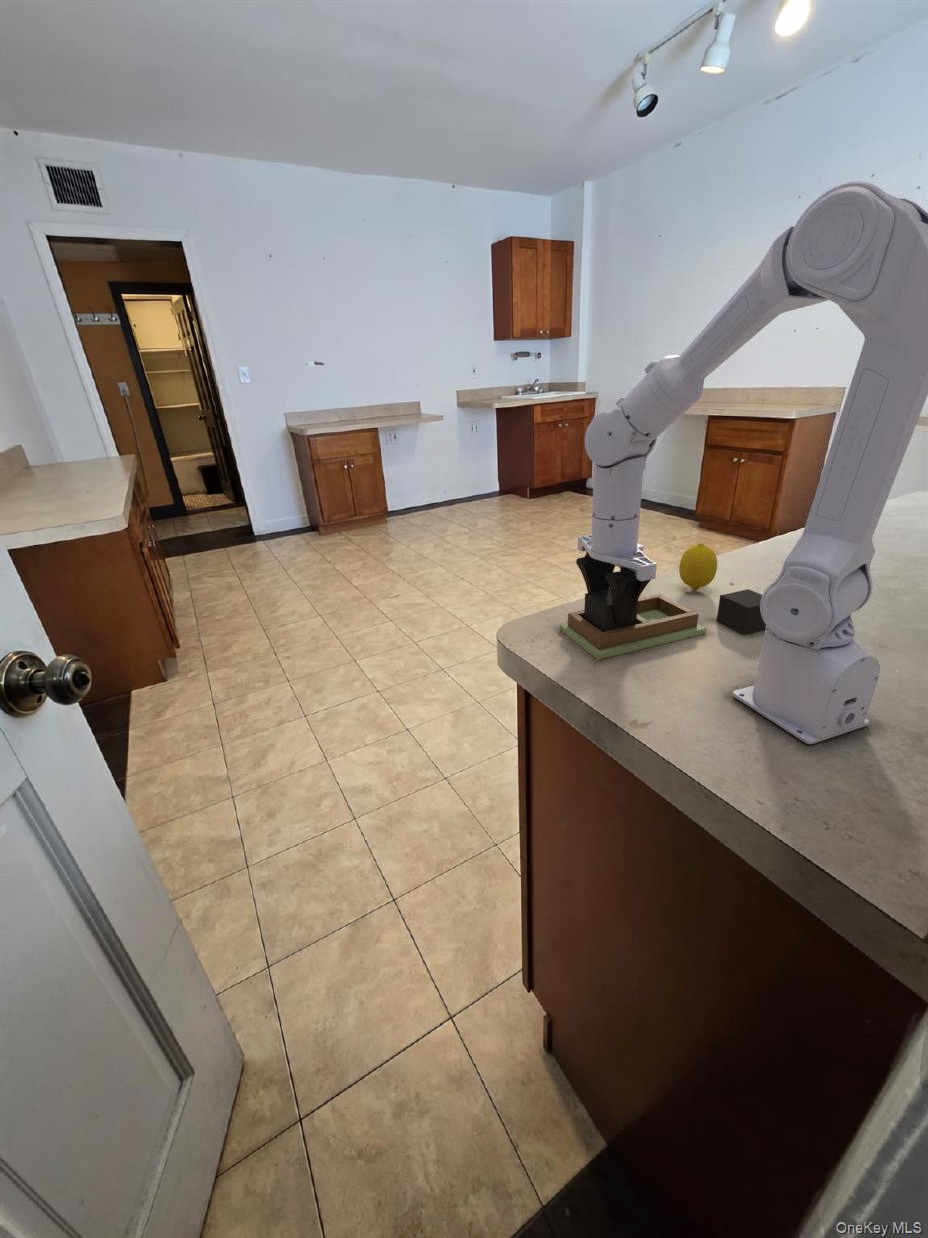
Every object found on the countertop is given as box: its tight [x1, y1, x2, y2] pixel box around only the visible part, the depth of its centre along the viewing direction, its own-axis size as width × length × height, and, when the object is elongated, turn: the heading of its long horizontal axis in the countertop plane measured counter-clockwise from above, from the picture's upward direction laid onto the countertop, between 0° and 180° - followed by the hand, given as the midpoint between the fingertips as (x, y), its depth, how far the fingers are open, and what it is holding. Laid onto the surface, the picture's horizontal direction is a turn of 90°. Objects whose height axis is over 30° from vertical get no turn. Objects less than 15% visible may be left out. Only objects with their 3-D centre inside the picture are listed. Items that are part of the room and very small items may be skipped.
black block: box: [715, 588, 766, 636], centre depth 71 cm, size 5×5×4 cm
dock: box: [559, 593, 707, 661], centre depth 71 cm, size 10×17×3 cm, turn 109°
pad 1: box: [583, 589, 638, 632], centre depth 69 cm, size 5×5×4 cm
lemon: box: [678, 542, 718, 591], centre depth 82 cm, size 6×6×8 cm
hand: (610, 614), depth 70 cm, fingers closed on pad 1, 5 cm apart
